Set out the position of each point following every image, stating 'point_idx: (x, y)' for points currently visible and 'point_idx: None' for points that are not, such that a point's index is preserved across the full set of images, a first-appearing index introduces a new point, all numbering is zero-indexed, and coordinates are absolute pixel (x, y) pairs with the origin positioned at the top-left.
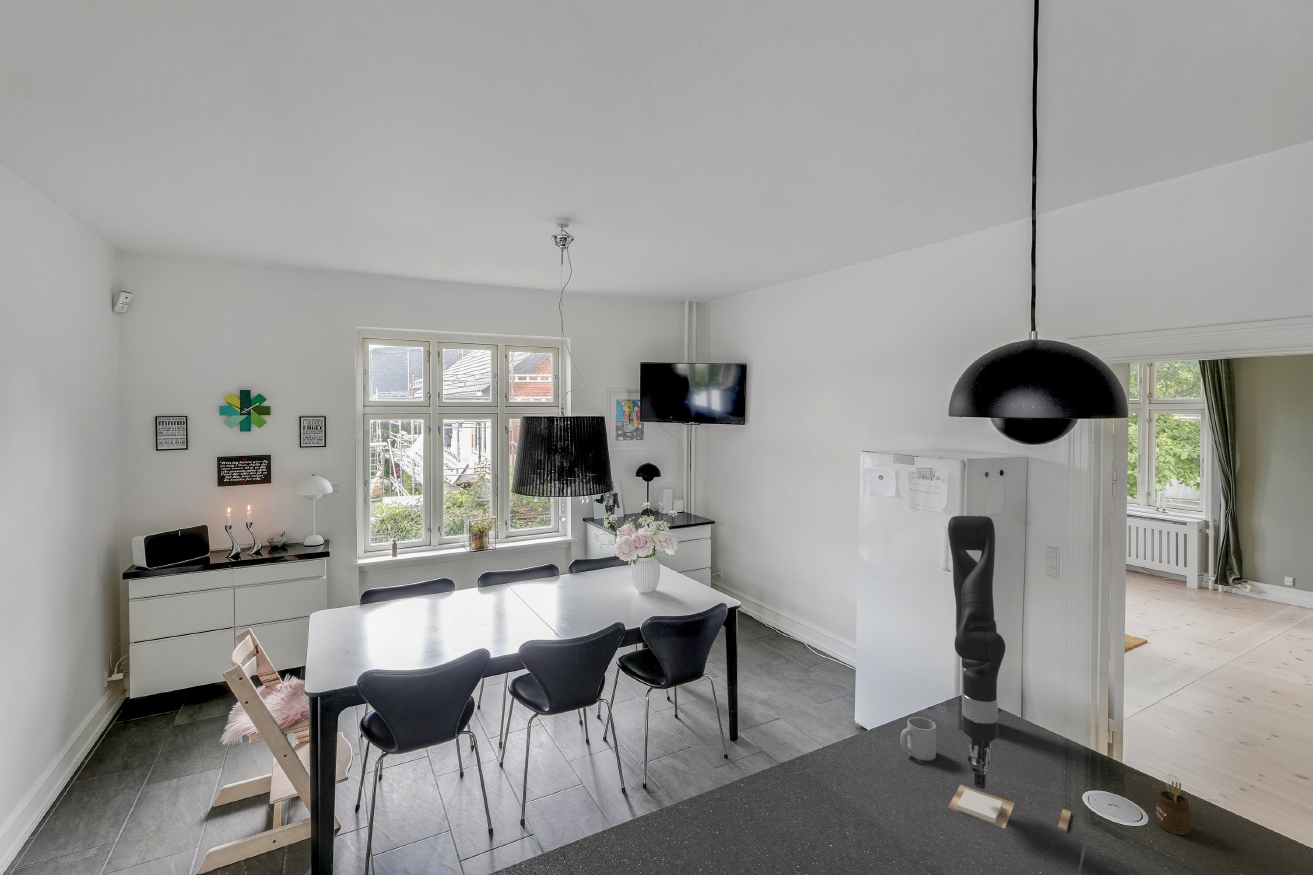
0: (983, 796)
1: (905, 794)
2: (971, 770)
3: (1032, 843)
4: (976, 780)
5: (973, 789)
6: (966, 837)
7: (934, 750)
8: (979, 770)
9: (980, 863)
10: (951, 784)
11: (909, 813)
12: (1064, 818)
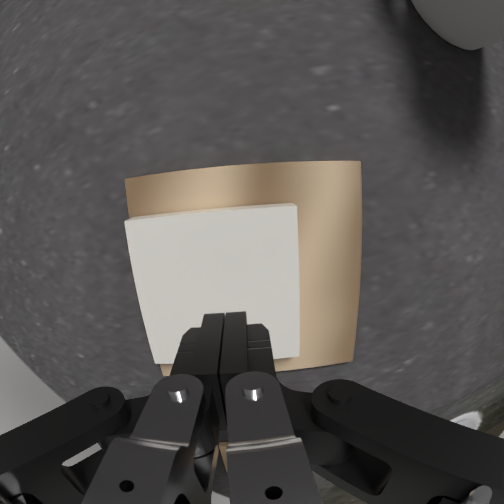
0: (286, 291)
1: (123, 23)
2: (79, 397)
3: None
4: (178, 352)
5: (356, 218)
6: (43, 288)
7: (475, 36)
8: (104, 453)
9: (5, 337)
10: (343, 123)
11: (28, 100)
12: None
